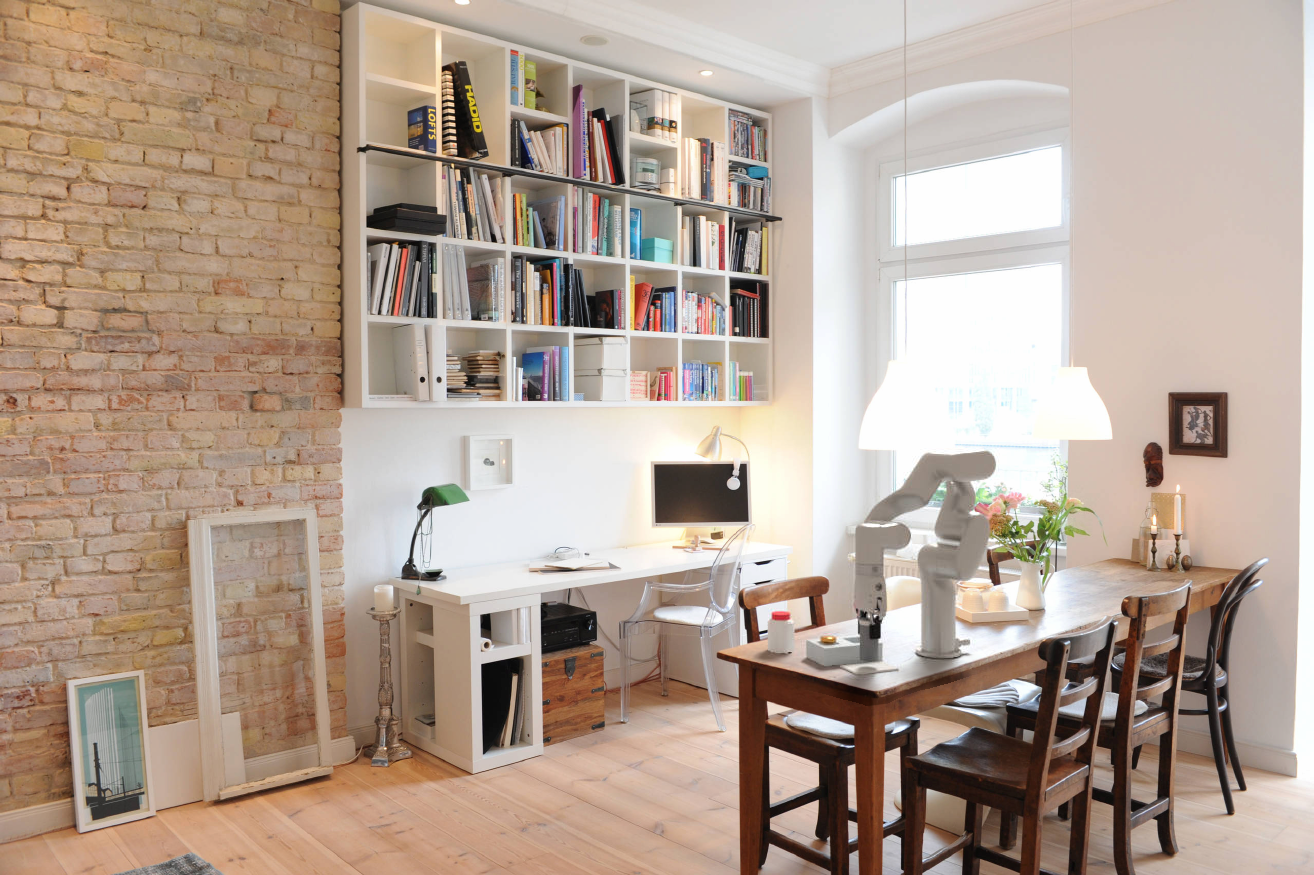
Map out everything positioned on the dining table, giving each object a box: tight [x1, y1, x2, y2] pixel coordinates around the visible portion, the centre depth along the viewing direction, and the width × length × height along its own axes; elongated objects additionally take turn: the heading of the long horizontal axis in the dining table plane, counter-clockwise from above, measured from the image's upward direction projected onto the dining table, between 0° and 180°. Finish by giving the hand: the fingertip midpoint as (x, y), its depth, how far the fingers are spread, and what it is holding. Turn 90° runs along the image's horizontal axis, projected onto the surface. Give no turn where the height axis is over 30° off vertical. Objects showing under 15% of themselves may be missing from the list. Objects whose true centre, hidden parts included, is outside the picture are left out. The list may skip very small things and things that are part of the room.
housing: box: [805, 634, 883, 667], centre depth 286 cm, size 18×11×5 cm, turn 109°
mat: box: [839, 660, 899, 676], centre depth 275 cm, size 13×8×1 cm, turn 109°
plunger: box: [819, 635, 837, 646], centre depth 284 cm, size 4×4×6 cm
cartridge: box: [859, 616, 880, 663], centre depth 274 cm, size 5×5×11 cm
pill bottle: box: [767, 610, 796, 654], centre depth 296 cm, size 8×8×11 cm
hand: (869, 635), depth 274 cm, fingers closed on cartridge, 5 cm apart
